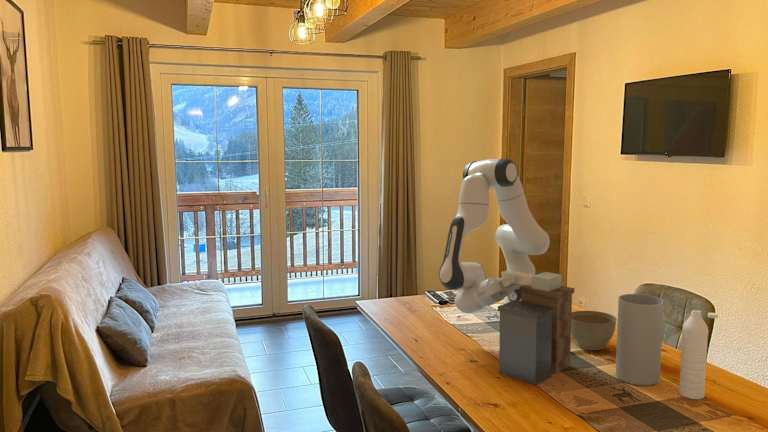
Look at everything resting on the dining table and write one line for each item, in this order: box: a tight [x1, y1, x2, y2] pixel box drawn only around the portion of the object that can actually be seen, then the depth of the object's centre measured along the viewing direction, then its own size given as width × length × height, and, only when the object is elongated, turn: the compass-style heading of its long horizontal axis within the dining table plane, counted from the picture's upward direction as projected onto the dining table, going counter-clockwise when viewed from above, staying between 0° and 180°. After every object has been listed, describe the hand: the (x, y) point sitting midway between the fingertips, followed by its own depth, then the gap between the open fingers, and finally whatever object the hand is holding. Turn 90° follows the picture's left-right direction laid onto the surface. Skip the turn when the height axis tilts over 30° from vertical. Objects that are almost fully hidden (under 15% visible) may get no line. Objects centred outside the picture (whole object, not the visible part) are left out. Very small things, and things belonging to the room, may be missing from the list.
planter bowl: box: [571, 310, 618, 351], centre depth 204 cm, size 16×16×11 cm
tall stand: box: [519, 285, 575, 375], centre depth 188 cm, size 10×14×26 cm
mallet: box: [501, 269, 563, 292], centre depth 190 cm, size 8×19×4 cm, turn 44°
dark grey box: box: [497, 300, 555, 386], centre depth 180 cm, size 10×14×22 cm
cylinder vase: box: [615, 293, 664, 386], centre depth 176 cm, size 12×12×25 cm
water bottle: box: [678, 309, 719, 400], centre depth 163 cm, size 9×6×25 cm
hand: (521, 276), depth 192 cm, fingers open, 7 cm apart
